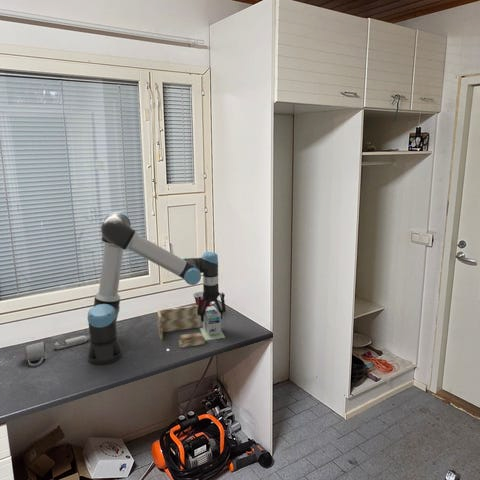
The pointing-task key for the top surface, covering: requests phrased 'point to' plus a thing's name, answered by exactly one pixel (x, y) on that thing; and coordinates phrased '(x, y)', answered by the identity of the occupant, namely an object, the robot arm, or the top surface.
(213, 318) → the light bulb box
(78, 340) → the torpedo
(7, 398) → the top surface
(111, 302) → the robot arm
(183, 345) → the offcut stack
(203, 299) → the plastic cup
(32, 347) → the ceramic mug
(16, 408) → the top surface
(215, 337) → the mat
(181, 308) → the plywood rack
